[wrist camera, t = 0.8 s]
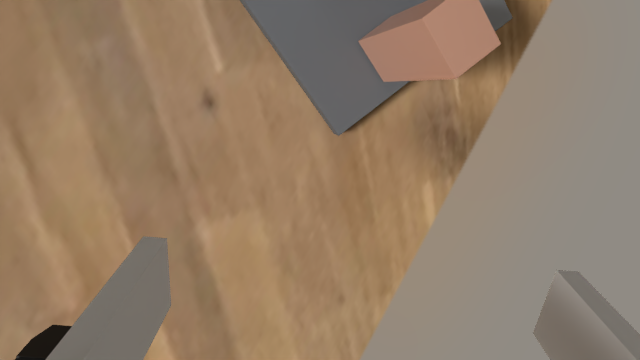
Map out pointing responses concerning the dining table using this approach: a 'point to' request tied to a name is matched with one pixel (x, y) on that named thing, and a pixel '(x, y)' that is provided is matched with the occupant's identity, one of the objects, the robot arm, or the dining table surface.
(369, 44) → the salmon pink block
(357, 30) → the dark grey block holder
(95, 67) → the dining table surface
